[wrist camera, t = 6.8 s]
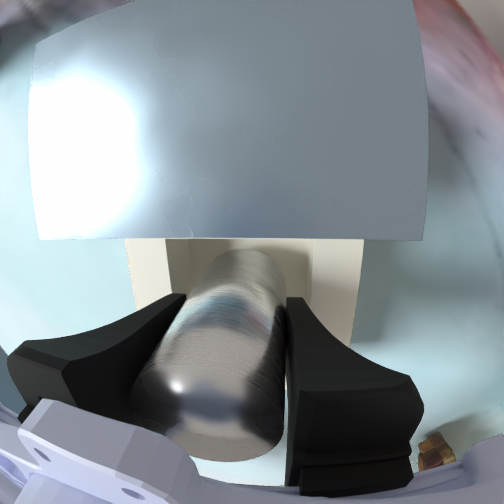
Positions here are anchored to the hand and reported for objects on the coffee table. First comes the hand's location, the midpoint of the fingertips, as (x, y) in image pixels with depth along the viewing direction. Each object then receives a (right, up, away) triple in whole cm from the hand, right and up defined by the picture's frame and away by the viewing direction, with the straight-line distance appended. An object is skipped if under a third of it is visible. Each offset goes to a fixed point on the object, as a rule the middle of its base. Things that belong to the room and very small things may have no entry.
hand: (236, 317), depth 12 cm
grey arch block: (0, +9, +2) cm, 9 cm away
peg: (0, +1, +2) cm, 3 cm away
